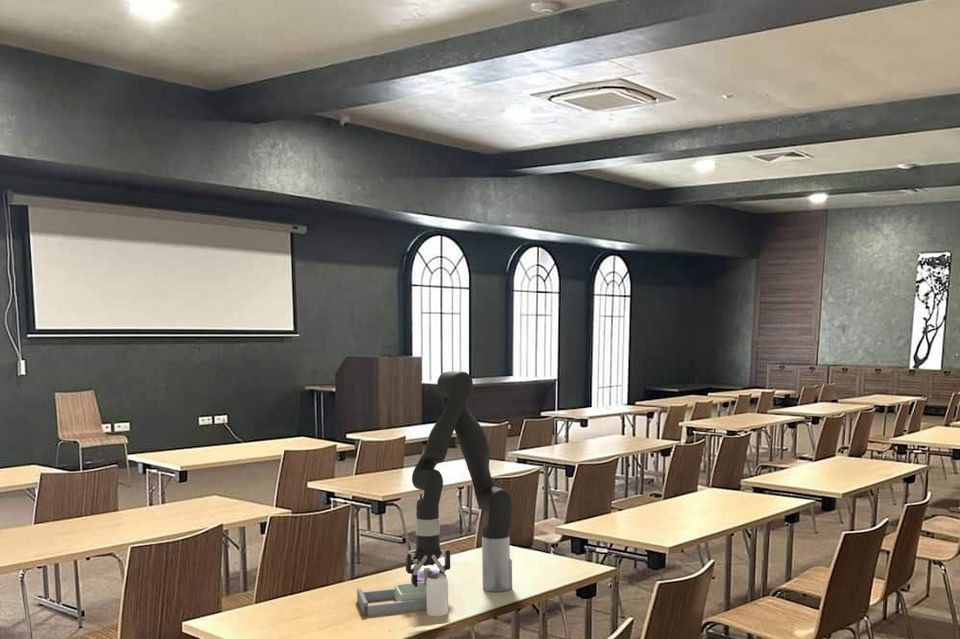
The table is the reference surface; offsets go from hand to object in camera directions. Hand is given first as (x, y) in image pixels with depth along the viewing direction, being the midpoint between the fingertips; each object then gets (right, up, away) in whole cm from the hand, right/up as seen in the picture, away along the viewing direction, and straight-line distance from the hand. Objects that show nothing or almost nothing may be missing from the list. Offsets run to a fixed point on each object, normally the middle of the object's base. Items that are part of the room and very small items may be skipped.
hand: (428, 584), depth 239 cm
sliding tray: (-5, -5, -2) cm, 7 cm away
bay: (-9, -6, -3) cm, 11 cm away
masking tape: (-1, -7, +19) cm, 21 cm away
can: (+3, -6, -11) cm, 13 cm away
